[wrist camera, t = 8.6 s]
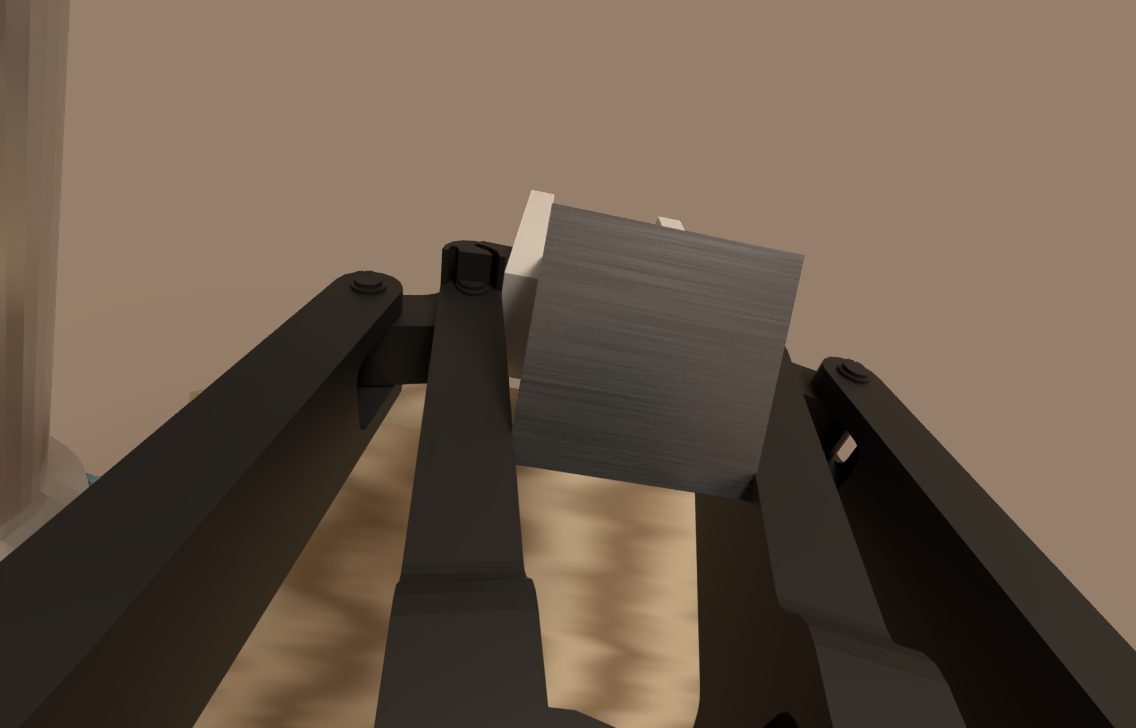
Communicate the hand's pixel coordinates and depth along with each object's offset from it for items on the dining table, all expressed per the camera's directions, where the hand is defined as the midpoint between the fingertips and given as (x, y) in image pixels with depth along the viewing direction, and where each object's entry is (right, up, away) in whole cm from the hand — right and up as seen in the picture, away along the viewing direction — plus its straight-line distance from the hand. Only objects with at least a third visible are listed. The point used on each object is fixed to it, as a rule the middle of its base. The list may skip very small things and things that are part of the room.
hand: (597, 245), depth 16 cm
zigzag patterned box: (-10, -36, +17) cm, 42 cm away
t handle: (-1, -4, +4) cm, 6 cm away
